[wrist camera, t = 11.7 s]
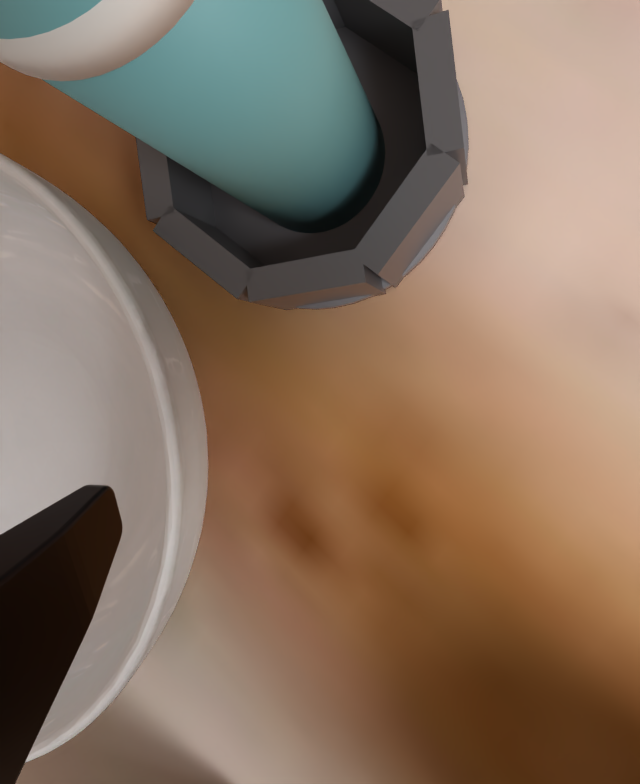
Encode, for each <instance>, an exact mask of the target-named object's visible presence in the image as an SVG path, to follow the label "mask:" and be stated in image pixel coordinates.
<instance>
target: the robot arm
mask: <svg viewBox="0 0 640 784" xmlns="http://www.w3.org/2000/svg"><path fill="white" fill-rule="evenodd" d="M121 536H122V520H121V516H120V512H119V508H118V504H117V501H116V497H115V493H114V490H113V489H112V488H111V487H110V486H108V485H85V486H83V487H81V488H79V489H78V490H76V491H74V492H72V493H71V494H69V495H67V496H66V497H64V498H62V499H61V500H59V501H57V502H55V503H54V504H52V505H50V506H49V507H47V508H45V509H43V510H42V511H40V512H38V513H37V514H35V515H33V516H31V517H30V518H28V519H26V520H25V521H23V522H21V523H19V524H18V525H16V526H14V527H13V528H11V529H9V530H7V531H6V532H4V533H2V534H1V535H0V784H15V782H16V780H17V778H18V776H19V774H20V772H21V770H22V768H23V766H24V763H25V761H26V759H27V757H28V755H29V753H30V751H31V749H32V747H33V744H34V742H35V740H36V738H37V736H38V734H39V732H40V730H41V728H42V725H43V723H44V721H45V719H46V717H47V715H48V713H49V711H50V709H51V706H52V704H53V702H54V700H55V698H56V696H57V694H58V692H59V689H60V687H61V685H62V683H63V681H64V679H65V677H66V675H67V673H68V670H69V668H70V666H71V664H72V662H73V660H74V658H75V656H76V654H77V651H78V649H79V647H80V645H81V643H82V641H83V639H84V637H85V635H86V632H87V630H88V628H89V626H90V623H91V621H92V619H93V616H94V613H95V611H96V608H97V605H98V603H99V600H100V597H101V594H102V591H103V588H104V585H105V582H106V580H107V577H108V574H109V571H110V568H111V565H112V562H113V559H114V557H115V554H116V551H117V548H118V545H119V542H120V539H121Z"/></svg>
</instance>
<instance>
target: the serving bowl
mask: <svg viewBox="0 0 640 784" xmlns="http://www.w3.org/2000/svg"><path fill="white" fill-rule="evenodd" d="M85 485H108V486H110V487H111V488H112V489H113V490H114V493H115V497H116V501H117V504H118V508H119V512H120V516H121V520H122V536H121V539H120V542H119V545H118V548H117V551H116V554H115V557H114V559H113V562H112V565H111V568H110V571H109V574H108V577H107V580H106V582H105V585H104V588H103V591H102V594H101V597H100V600H99V603H98V605H97V608H96V611H95V613H94V616H93V619H92V621H91V623H90V626H89V628H88V630H87V632H86V635H85V637H84V639H83V641H82V643H81V645H80V647H79V649H78V651H77V654H76V656H75V658H74V660H73V662H72V664H71V666H70V668H69V670H68V673H67V675H66V677H65V679H64V681H63V683H62V685H61V687H60V689H59V692H58V694H57V696H56V698H55V700H54V702H53V704H52V706H51V709H50V711H49V713H48V715H47V717H46V719H45V721H44V723H43V725H42V728H41V730H40V732H39V734H38V736H37V738H36V740H35V742H34V744H33V747H32V749H31V751H30V753H29V755H28V757H27V759H26V761H25V762H28V761H31V760H33V759H36V758H38V757H40V756H42V755H45V754H47V753H49V752H51V751H52V750H54V749H56V748H58V747H59V746H61V745H63V744H64V743H66V742H67V741H69V740H70V739H72V738H73V737H75V736H76V735H77V734H78V733H80V732H81V731H82V730H84V729H85V728H86V727H87V726H88V725H89V724H91V723H92V722H93V721H94V720H95V719H96V718H97V717H98V716H99V715H100V714H101V713H102V712H103V711H104V710H105V709H106V708H107V707H108V706H109V705H110V704H111V703H112V702H113V701H114V700H115V698H116V697H117V696H118V695H119V693H120V692H121V691H122V690H123V688H124V687H125V686H126V684H127V683H128V682H129V680H130V679H131V677H132V676H133V675H134V673H135V672H136V670H137V669H138V668H139V666H140V665H141V663H142V662H143V660H144V659H145V657H146V656H147V655H148V653H149V652H150V650H151V649H152V647H153V646H154V644H155V643H156V641H157V639H158V638H159V636H160V634H161V633H162V631H163V630H164V628H165V626H166V624H167V622H168V620H169V618H170V616H171V615H172V613H173V611H174V609H175V607H176V604H177V602H178V600H179V598H180V595H181V593H182V591H183V589H184V586H185V584H186V581H187V578H188V576H189V573H190V570H191V567H192V564H193V560H194V557H195V554H196V551H197V547H198V543H199V539H200V535H201V531H202V526H203V520H204V514H205V507H206V498H207V487H208V445H207V430H206V423H205V416H204V410H203V405H202V400H201V395H200V391H199V387H198V383H197V379H196V376H195V372H194V369H193V366H192V362H191V360H190V357H189V354H188V351H187V349H186V346H185V344H184V342H183V339H182V337H181V334H180V332H179V330H178V328H177V326H176V324H175V322H174V320H173V318H172V315H171V313H170V312H169V310H168V308H167V306H166V304H165V303H164V301H163V299H162V297H161V296H160V294H159V293H158V291H157V290H156V288H155V287H154V285H153V283H152V282H151V280H150V279H149V277H148V276H147V274H146V273H145V272H144V270H143V269H142V268H141V266H140V265H139V264H138V263H137V261H136V260H135V259H134V258H133V256H132V255H131V254H130V253H129V252H128V250H127V249H126V248H125V247H124V246H123V245H122V243H121V242H120V241H119V240H118V239H117V238H116V237H115V236H114V235H113V234H112V233H111V232H110V231H109V230H108V229H107V228H106V227H105V226H104V225H103V224H102V223H101V222H100V221H98V220H97V219H96V218H95V217H94V216H93V215H92V214H91V213H89V212H88V211H87V210H86V209H85V208H84V207H82V206H81V205H80V204H79V203H77V202H76V201H75V200H74V199H72V198H71V197H70V196H68V195H67V194H65V193H64V192H63V191H61V190H60V189H58V188H57V187H56V186H54V185H53V184H51V183H49V182H48V181H46V180H45V179H43V178H42V177H40V176H39V175H37V174H35V173H34V172H32V171H30V170H29V169H27V168H25V167H23V166H22V165H20V164H18V163H16V162H15V161H13V160H11V159H10V158H8V157H6V156H4V155H3V154H1V153H0V535H1V534H2V533H4V532H6V531H7V530H9V529H11V528H13V527H14V526H16V525H18V524H19V523H21V522H23V521H25V520H26V519H28V518H30V517H31V516H33V515H35V514H37V513H38V512H40V511H42V510H43V509H45V508H47V507H49V506H50V505H52V504H54V503H55V502H57V501H59V500H61V499H62V498H64V497H66V496H67V495H69V494H71V493H72V492H74V491H76V490H78V489H79V488H81V487H83V486H85Z"/></svg>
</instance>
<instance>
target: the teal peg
mask: <svg viewBox="0 0 640 784" xmlns="http://www.w3.org/2000/svg"><path fill="white" fill-rule="evenodd" d="M0 62H1V63H3V64H5V65H6V66H8V67H10V68H12V69H14V70H16V71H18V72H21V73H23V74H25V75H28V76H32V77H35V78H39V79H42V80H44V81H45V82H47V83H48V84H50V85H52V86H53V87H55V88H57V89H58V90H60V91H61V92H63V93H65V94H66V95H68V96H70V97H71V98H73V99H75V100H76V101H78V102H79V103H81V104H83V105H84V106H86V107H88V108H89V109H91V110H92V111H94V112H96V113H97V114H99V115H101V116H102V117H104V118H106V119H107V120H109V121H110V122H112V123H114V124H115V125H117V126H119V127H120V128H122V129H123V130H125V131H127V132H128V133H130V134H132V135H133V136H135V137H137V138H138V139H140V140H141V141H143V142H145V143H146V144H148V145H150V146H151V147H153V148H154V149H156V150H158V151H159V152H161V153H163V154H164V155H166V156H167V157H169V158H171V159H172V160H174V161H176V162H177V163H179V164H181V165H182V166H184V167H185V168H187V169H189V170H190V171H192V172H194V173H195V174H197V175H198V176H200V177H202V178H203V179H205V180H207V181H208V182H210V183H212V184H213V185H215V186H216V187H218V188H220V189H221V190H223V191H225V192H226V193H228V194H229V195H231V196H233V197H234V198H236V199H238V200H239V201H241V202H243V203H244V204H246V205H247V206H249V207H251V208H252V209H254V210H256V211H257V212H259V213H260V214H262V215H264V216H265V217H267V218H269V219H270V220H272V221H274V222H275V223H277V224H278V225H280V226H282V227H284V228H286V229H289V230H292V231H295V232H301V233H319V232H325V231H328V230H332V229H334V228H337V227H339V226H341V225H343V224H345V223H346V222H348V221H350V220H351V219H352V218H353V217H355V216H356V215H357V214H358V213H359V212H360V211H361V210H362V209H363V208H364V207H365V206H366V205H367V203H368V202H369V201H370V199H371V198H372V196H373V194H374V193H375V191H376V189H377V187H378V185H379V182H380V179H381V176H382V173H383V168H384V163H385V142H384V137H383V132H382V129H381V126H380V123H379V121H378V119H377V117H376V115H375V113H374V110H373V108H372V106H371V104H370V102H369V100H368V98H367V95H366V93H365V91H364V89H363V87H362V85H361V83H360V80H359V78H358V76H357V74H356V72H355V70H354V68H353V65H352V63H351V61H350V59H349V57H348V55H347V52H346V50H345V48H344V46H343V44H342V42H341V40H340V37H339V35H338V33H337V31H336V29H335V27H334V25H333V22H332V20H331V18H330V16H329V14H328V12H327V9H326V7H325V5H324V3H323V1H322V0H0Z"/></svg>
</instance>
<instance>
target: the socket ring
mask: <svg viewBox="0 0 640 784" xmlns="http://www.w3.org/2000/svg"><path fill="white" fill-rule="evenodd" d="M322 1H323V3H324V5H325V7H326V9H327V12H328V14H329V16H330V18H331V20H332V22H333V25H334V27H335V29H336V31H337V33H338V35H339V37H340V40H341V42H342V44H343V46H344V48H345V50H346V52H347V55H348V57H349V59H350V61H351V63H352V65H353V68H354V70H355V72H356V74H357V76H358V78H359V80H360V83H361V85H362V87H363V89H364V91H365V93H366V95H367V98H368V100H369V102H370V104H371V106H372V108H373V110H374V113H375V115H376V117H377V119H378V121H379V123H380V126H381V129H382V132H383V137H384V142H385V163H384V168H383V173H382V176H381V179H380V182H379V185H378V187H377V189H376V191H375V193H374V194H373V196H372V198H371V199H370V201H369V202H368V203H367V205H366V206H365V207H364V208H363V209H362V210H361V211H360V212H359V213H358V214H357V215H356V216H355V217H353V218H352V219H351V220H350V221H348V222H346V223H345V224H343V225H341V226H339V227H337V228H334V229H332V230H328V231H325V232H319V233H301V232H295V231H292V230H289V229H286V228H284V227H282V226H280V225H278V224H277V223H275V222H274V221H272V220H270V219H269V218H267V217H265V216H264V215H262V214H260V213H259V212H257V211H256V210H254V209H252V208H251V207H249V206H247V205H246V204H244V203H243V202H241V201H239V200H238V199H236V198H234V197H233V196H231V195H229V194H228V193H226V192H225V191H223V190H221V189H220V188H218V187H216V186H215V185H213V184H212V183H210V182H208V181H207V180H205V179H203V178H202V177H200V176H198V175H197V174H195V173H194V172H192V171H190V170H189V169H187V168H185V167H184V166H182V165H181V164H179V163H177V162H176V161H174V160H172V159H171V158H169V157H167V156H166V155H164V154H163V153H161V152H159V151H158V150H156V149H154V148H153V147H151V146H150V145H148V144H146V143H145V142H143V141H141V140H140V139H138V138H137V137H136V143H137V150H138V158H139V165H140V172H141V180H142V187H143V195H144V202H145V209H146V217H147V220H148V221H151V222H153V223H156V224H157V225H156V226H155V228H154V230H153V231H154V232H155V233H156V234H157V235H159V236H160V237H161V238H162V239H164V240H165V241H166V242H167V243H168V244H170V245H171V246H172V247H173V248H175V249H176V250H177V251H178V252H180V253H181V254H182V255H183V256H185V257H186V258H187V259H188V260H190V261H191V262H192V263H193V264H194V265H196V266H197V267H198V268H199V269H201V270H202V271H203V272H204V273H206V274H207V275H208V276H209V277H211V278H212V279H213V280H214V281H215V282H217V283H218V284H219V285H220V286H222V287H223V288H224V289H225V290H227V291H228V292H229V293H230V294H232V295H233V296H234V297H235V298H237V299H240V300H244V301H249V302H251V303H256V304H260V305H265V306H270V307H275V308H280V309H285V310H290V309H296V308H300V309H327V308H337V307H341V306H346V305H350V304H354V303H357V302H360V301H362V300H365V299H368V298H370V297H373V296H377V295H383V294H386V291H385V290H386V289H388V288H389V287H391V286H392V285H393V286H394V287H397V286H398V284H399V283H400V282H401V280H402V279H403V278H404V277H405V276H406V275H407V274H408V273H410V272H411V271H412V270H413V269H414V268H415V267H416V266H417V265H418V264H419V263H420V262H421V261H422V260H423V259H424V258H425V257H426V255H427V254H428V253H429V252H430V251H431V250H432V248H433V247H434V246H435V244H436V243H437V241H438V240H439V238H440V237H441V235H442V234H443V232H444V231H445V229H446V227H447V225H448V223H449V221H450V219H451V217H452V215H453V213H454V211H455V209H456V207H457V206H458V204H459V203H460V202H461V200H462V199H463V198H464V190H463V185H466V184H468V180H467V161H468V149H469V145H468V125H467V117H466V111H465V106H464V101H463V97H462V94H461V91H460V88H459V85H458V82H457V79H456V72H455V63H454V54H453V46H452V37H451V28H450V20H449V11H448V10H447V11H442V3H441V0H322Z"/></svg>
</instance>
